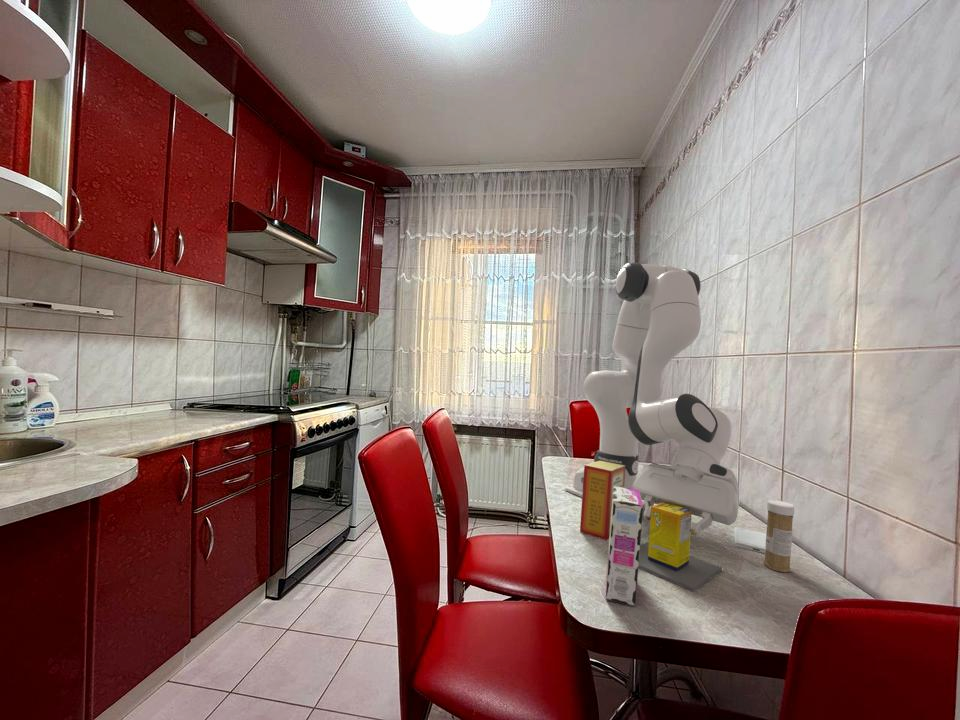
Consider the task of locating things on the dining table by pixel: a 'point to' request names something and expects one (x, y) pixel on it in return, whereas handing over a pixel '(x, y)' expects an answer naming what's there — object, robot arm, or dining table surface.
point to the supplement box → (669, 535)
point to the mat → (686, 576)
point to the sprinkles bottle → (779, 535)
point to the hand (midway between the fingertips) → (669, 525)
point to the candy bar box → (624, 546)
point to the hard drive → (750, 539)
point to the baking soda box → (599, 496)
